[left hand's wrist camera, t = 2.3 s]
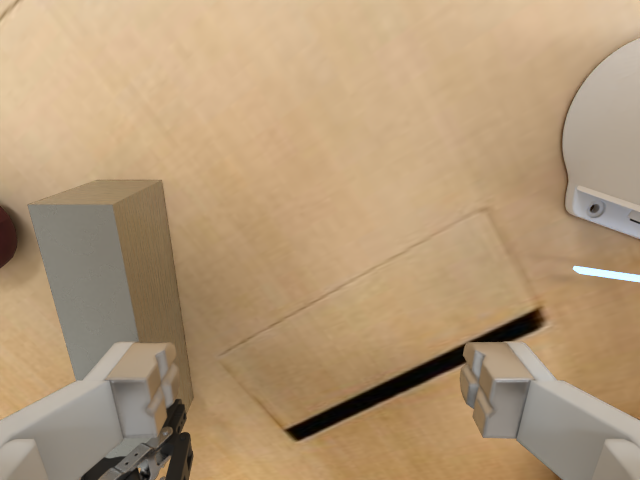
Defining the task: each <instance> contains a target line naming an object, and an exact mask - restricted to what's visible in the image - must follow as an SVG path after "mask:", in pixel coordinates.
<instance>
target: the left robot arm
mask: <svg viewBox="0 0 640 480" xmlns="http://www.w3.org/2000/svg"><path fill="white" fill-rule="evenodd" d="M562 149H563V157H564V161H565V165H566V169H567V173H568V186H567V192H566V198H565V207H566V210H567V212H568V213H570V214H571V215H574V216H576V217H579V218H582V219H585V220H587V221H590V222H593V223H596V224H599V225H601V226H604V227H607V228H610V229H612V230H615V231H618V232H621V233H624V234H626V235H629V236H632V237H635V238H638V239H640V38H638V39H636V40H634V41H631V42H629V43H628V44H626V45H624V46H622V47H621V48H619V49H618V50H616V51H615V52H613V53H612V54H611V55H609V56H608V57H607V58H606V59H604V60H603V61H602V62H601V63H600V64H599V65H598V66H597V67H596V68H595V69H594V70H593V71H592V72H591V74H590V75H589V76H588V77H587V78H586V80H585V81H584V83H583V84H582V85H581V87H580V89H579V90H578V92H577V94H576V95H575V97H574V99H573V101H572V103H571V106H570V108H569V111H568V114H567V117H566V120H565V124H564V129H563V138H562ZM592 205H594V208H593V209H592V210H591V211H590V208H591V206H592ZM573 269H574V270H575V271H577V272H578V273H580V274H587V275H594V276H601V277H608V278H615V279H622V280H629V281H636V282H640V275H633V274H626V273H619V272H612V271H605V270H598V269H591V268H584V267H577V266H574V268H573ZM176 356H177V353H176V348H175V345H174V344H173V343H172V342H117V343H114V344H113V346H112V347H111V348H110V349H109V350H108V351H107V353H106V354H105V355H104V356H103V357H102V358H101V359H100V361H99V362H98V363H97V364H96V365H95V366H94V368H93V369H92V370H91V371H90V372H89V373H88V375H87V376H86V377H85V378H84V379H83V380H82V381H75V382H73V383H71V384H69V385H67V386H65V387H63V388H61V389H59V390H57V391H56V392H54V393H52V394H50V395H48V396H46V397H44V398H42V399H40V400H38V401H36V402H34V403H32V404H31V405H29V406H27V407H25V408H23V409H21V410H19V411H17V412H15V413H13V414H11V415H9V416H7V417H6V418H4V419H2V420H0V480H78V479H79V478H80V477H82V476H83V475H84V474H85V473H86V472H87V471H89V470H90V469H91V468H92V467H93V466H94V465H95V464H97V463H98V462H99V461H100V460H101V459H102V458H104V457H105V456H106V455H107V454H108V453H109V452H111V451H112V450H113V449H114V448H115V447H116V446H118V445H119V444H120V443H121V442H122V441H123V439H127V438H157V437H158V435H159V433H160V431H161V429H162V427H163V425H164V423H165V421H166V419H167V412H166V409H167V408H168V407H170V406H171V405H173V404H174V402H175V400H176V398H177V395H178V391H179V386H180V372H179V368H178V367H177V366H176V365H175V364H174V363H173V361H174V359H175V358H176ZM463 356H464V358H465V359H466V361H467V363H466V364H465V365H464V366H463V367H462V368H461V373H460V386H461V391H462V395H463V398H464V400H465V402H466V404H467V405H469V406H470V407H472V408H473V409H474V412H473V419H474V421H475V423H476V425H477V427H478V429H479V431H480V433H481V435H482V437H483V438H513V439H517V441H518V442H519V443H520V444H521V445H523V446H524V447H525V448H526V449H527V450H528V451H530V452H531V453H532V454H533V455H534V456H535V457H537V458H538V459H539V460H540V461H541V462H542V463H543V464H545V465H546V466H547V467H548V468H549V469H550V470H552V471H553V472H554V473H555V474H556V475H557V476H559V477H560V478H561V479H562V480H640V420H638V419H636V418H634V417H632V416H630V415H629V414H627V413H625V412H623V411H621V410H619V409H617V408H615V407H613V406H611V405H609V404H607V403H606V402H604V401H602V400H600V399H598V398H596V397H594V396H592V395H590V394H588V393H586V392H584V391H583V390H581V389H579V388H577V387H575V386H573V385H571V384H569V383H567V382H565V381H558V380H557V379H556V378H555V377H554V376H553V375H552V373H551V372H550V371H549V370H548V369H547V368H546V366H545V365H544V364H543V363H542V362H541V361H540V360H539V358H538V357H537V356H536V355H535V354H534V353H533V351H532V350H531V349H530V348H529V347H528V346H527V344H526V343H524V342H522V341H513V342H486V343H466V345H465V347H464V353H463Z"/></svg>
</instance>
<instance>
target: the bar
mask: <svg viewBox="0 0 640 480" xmlns="http://www.w3.org/2000/svg"><path fill="white" fill-rule="evenodd" d="M28 208H29V212H30V215H31V219H32V223H33V226H34V230H35V234H36V237H37V241H38V244H39V248H40V252H41V255H42V259H43V263H44V266H45V270H46V273H47V277H48V281H49V284H50V288H51V292H52V295H53V299H54V302H55V306H56V310H57V313H58V317H59V320H60V324H61V328H62V331H63V335H64V339H65V342H66V346H67V349H68V353H69V357H70V360H71V364H72V368H73V371H74V375H75V378H76V381H82V380H83V379H84V378H85V377H86V376H87V375H88V373H89V372H90V371H91V370H92V369H93V368H94V366H95V365H96V364H97V363H98V362H99V361H100V359H101V358H102V357H103V356H104V355H105V354H106V353H107V351H108V350H109V349H110V348H111V347H112V346H113V344H114V343H117V342H172V343H173V344H174V345H175V348H176V353H177V356H176V358H175V359H174V361H173V363H174V364H175V365H176V366H177V367H178V368H179V372H180V386H179V391H178V395H177V398H176V399H181V400H182V404H185V410H186V414H187V412H188V409H189V407H190V405H191V402H192V400H193V392H192V385H191V378H190V372H189V365H188V358H187V351H186V344H185V337H184V330H183V323H182V317H181V310H180V303H179V296H178V289H177V282H176V275H175V268H174V262H173V255H172V248H171V241H170V234H169V227H168V220H167V213H166V207H165V200H164V193H163V186H162V180H96V181H93V182H90V183H87V184H85V185H82V186H79V187H76V188H73V189H70V190H67V191H65V192H62V193H59V194H56V195H53V196H50V197H48V198H45V199H42V200H39V201H36V202H33V203H31V204H28ZM168 409H169V407H168V408H167V409H166V412H167V411H168ZM150 439H151V438H127V439H123V441H122V442H121V443H120V444H119V445H118V446H116V447H115V448H114V449H113V450H112V451H111V452H109V453H108V454H107V455H106V456H105V457H106V458H114V457H119V456H127V455H128V454H129V453H130V452H131V451H133V450H134V449H135V448H136V447H137V446H138V445H139V444H140V443H147V442H148V441H149V440H150ZM164 466H165V464H164V465H163V466H162V467H161V468H164ZM137 468H141V466H140V465H139V466H138V467H137Z"/></svg>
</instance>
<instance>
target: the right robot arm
mask: <svg viewBox="0 0 640 480" xmlns="http://www.w3.org/2000/svg"><path fill="white" fill-rule="evenodd" d="M186 419H187V418H186V410H185V404H182V400H181V399H176V400H175V402H174V404H173V405H171V406H170V407H169V409H168V411H167V419H166V421H165V423H164V425H163V427H162V429H161V431H160V433H159V435H158V437H157V438H151V439H150V440H149V441H148V442H147V443H140V444H139V445H138V446H137V447H136V448H135V449H134V450H133V451H131V452H130V453H129V454H128V455H127V456H119V457H114V458H106V457H104V458H102V459H101V460H100V461H99V462H98V463H97V464H95V465H94V466H93V467H92V468H91V469H90V470H89V471H87V472H86V473H85V474H84V475H83V476H82V477H80V478H79V479H78V480H155V479H156V477H157V476H158V474H159V470H160V469H161V467H162V466H163V465H164V464H165V463H166V462H167V461H168V460H169V459H170V458H171V460H170V464H169V467H168V471H167V475H166V477H162V478H160V480H189V476H190V471H191V466H192V461H193V451H192V448H191V438H190V434H189V433H187V432H183V433H181V431H182V429H183V426H184V423H185V422H186ZM180 433H181V434H180ZM139 465H140V466H141V471H140V473H139V471H138V468H137V467H138V466H139Z"/></svg>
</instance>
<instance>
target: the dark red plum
mask: <svg viewBox="0 0 640 480" xmlns="http://www.w3.org/2000/svg"><path fill="white" fill-rule="evenodd" d="M16 248H17V237H16V230H15V228H14V225H13V223H12V221H11V219H10V217H9V215H8V214H7V213H6V212H5V211H4V210H3V209H2V208H1V207H0V268H1V267H2V266H4V265H5V264H6V263H7V262H8V261H9V260H10V259H11V258H12V257H13V255H14V253H15V250H16Z"/></svg>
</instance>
